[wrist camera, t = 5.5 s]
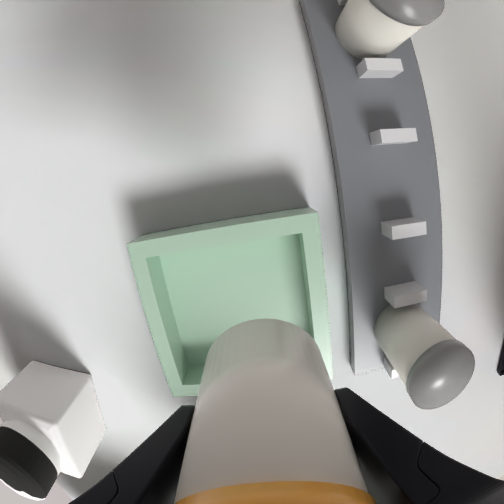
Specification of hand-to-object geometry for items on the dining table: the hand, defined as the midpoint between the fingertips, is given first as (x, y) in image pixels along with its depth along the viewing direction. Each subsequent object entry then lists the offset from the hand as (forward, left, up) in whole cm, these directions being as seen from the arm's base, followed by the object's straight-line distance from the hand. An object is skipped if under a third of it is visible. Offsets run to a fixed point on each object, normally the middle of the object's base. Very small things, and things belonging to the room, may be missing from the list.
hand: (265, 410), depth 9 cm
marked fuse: (0, 0, -2) cm, 2 cm away
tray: (-2, +2, -13) cm, 13 cm away
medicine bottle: (-10, +20, -13) cm, 26 cm away
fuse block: (+5, -9, -13) cm, 17 cm away
